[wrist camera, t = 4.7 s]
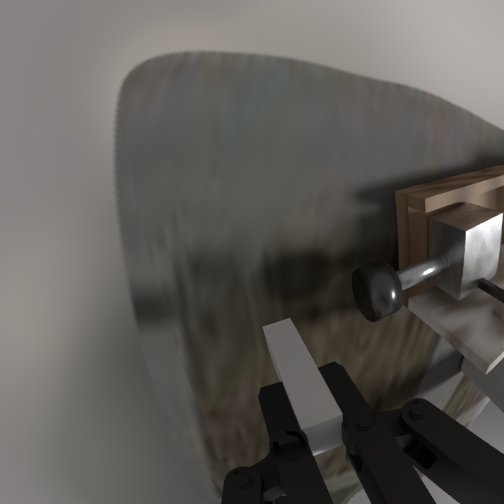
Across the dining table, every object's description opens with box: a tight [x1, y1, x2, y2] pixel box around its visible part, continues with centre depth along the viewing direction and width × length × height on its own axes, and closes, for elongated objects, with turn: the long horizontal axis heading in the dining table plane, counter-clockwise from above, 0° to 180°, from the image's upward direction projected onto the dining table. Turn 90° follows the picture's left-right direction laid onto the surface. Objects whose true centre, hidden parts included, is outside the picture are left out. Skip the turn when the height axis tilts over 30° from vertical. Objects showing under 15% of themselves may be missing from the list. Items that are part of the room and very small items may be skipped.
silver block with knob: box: [352, 203, 504, 322], centre depth 15 cm, size 14×6×9 cm, turn 104°
